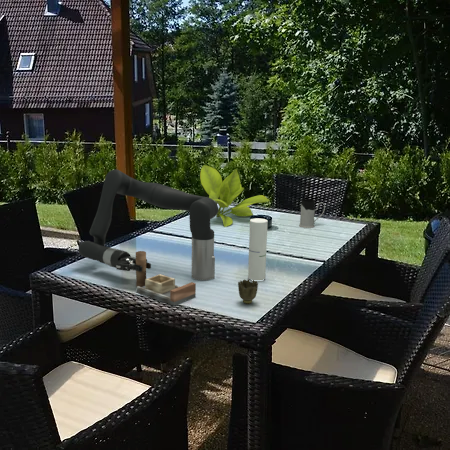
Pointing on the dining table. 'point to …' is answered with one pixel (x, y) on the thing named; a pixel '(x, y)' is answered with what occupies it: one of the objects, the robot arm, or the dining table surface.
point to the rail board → (172, 294)
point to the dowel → (142, 262)
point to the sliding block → (160, 283)
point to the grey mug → (308, 213)
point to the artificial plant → (227, 193)
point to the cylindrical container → (257, 249)
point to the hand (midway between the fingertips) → (146, 267)
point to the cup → (247, 290)
